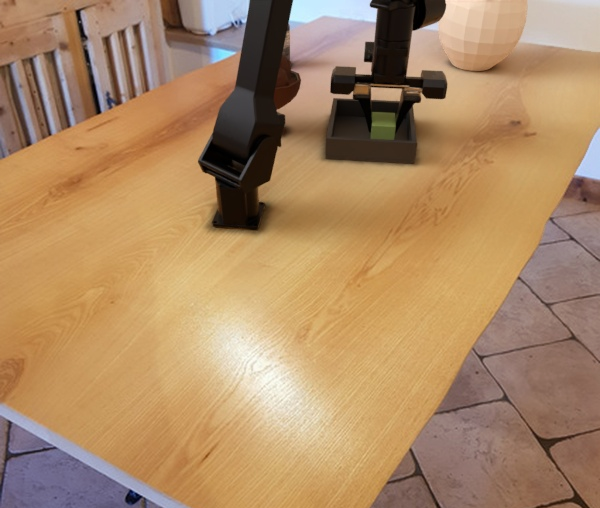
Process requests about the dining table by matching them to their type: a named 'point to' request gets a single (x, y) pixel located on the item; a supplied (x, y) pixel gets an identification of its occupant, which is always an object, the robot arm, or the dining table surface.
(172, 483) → the dining table surface
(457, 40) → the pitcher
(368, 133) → the dark brown tray
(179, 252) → the dining table surface
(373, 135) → the green block
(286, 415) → the dining table surface
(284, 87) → the ice cream bowl
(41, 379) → the dining table surface
